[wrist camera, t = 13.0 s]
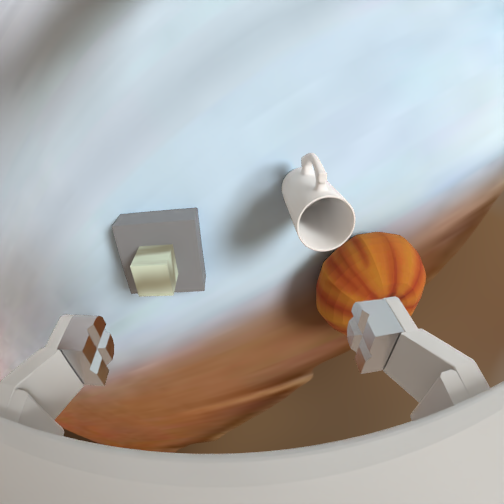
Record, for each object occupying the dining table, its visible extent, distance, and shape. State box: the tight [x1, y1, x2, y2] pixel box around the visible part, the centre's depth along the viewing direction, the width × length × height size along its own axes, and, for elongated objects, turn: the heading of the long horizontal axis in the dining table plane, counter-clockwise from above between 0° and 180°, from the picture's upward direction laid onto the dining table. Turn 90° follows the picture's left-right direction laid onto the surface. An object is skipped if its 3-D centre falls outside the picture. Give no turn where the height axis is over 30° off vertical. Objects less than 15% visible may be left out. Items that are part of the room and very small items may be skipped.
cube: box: [130, 244, 178, 296], centre depth 39 cm, size 5×5×5 cm
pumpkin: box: [316, 232, 426, 335], centre depth 44 cm, size 19×19×15 cm
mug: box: [282, 153, 355, 252], centre depth 36 cm, size 10×7×12 cm, turn 7°
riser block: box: [112, 208, 206, 294], centre depth 43 cm, size 12×12×4 cm
